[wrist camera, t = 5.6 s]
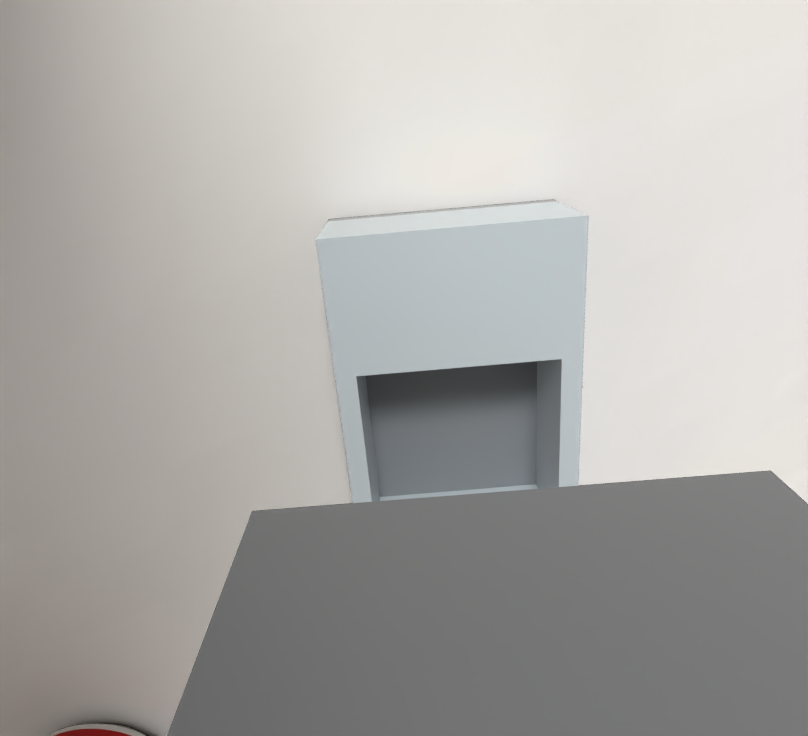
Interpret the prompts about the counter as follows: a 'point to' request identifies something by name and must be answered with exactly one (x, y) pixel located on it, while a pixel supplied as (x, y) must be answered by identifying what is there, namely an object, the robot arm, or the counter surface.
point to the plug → (516, 616)
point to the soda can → (97, 730)
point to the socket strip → (457, 347)
